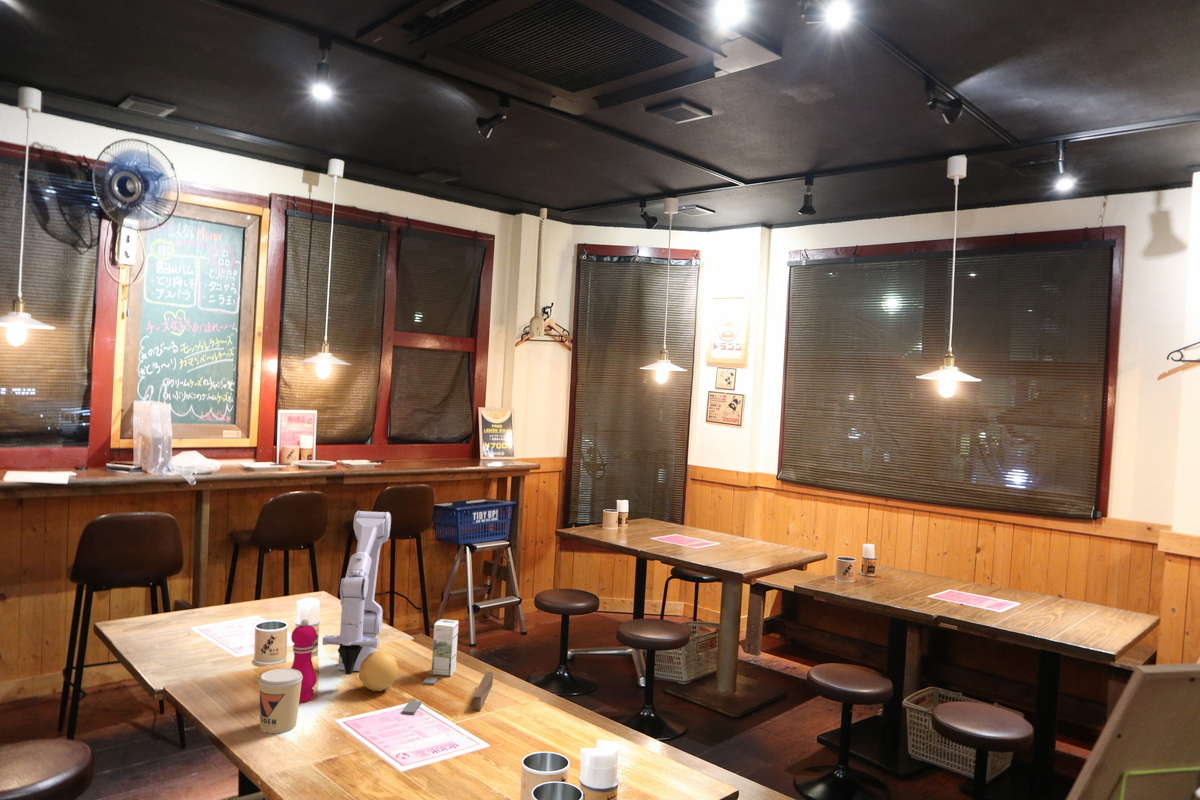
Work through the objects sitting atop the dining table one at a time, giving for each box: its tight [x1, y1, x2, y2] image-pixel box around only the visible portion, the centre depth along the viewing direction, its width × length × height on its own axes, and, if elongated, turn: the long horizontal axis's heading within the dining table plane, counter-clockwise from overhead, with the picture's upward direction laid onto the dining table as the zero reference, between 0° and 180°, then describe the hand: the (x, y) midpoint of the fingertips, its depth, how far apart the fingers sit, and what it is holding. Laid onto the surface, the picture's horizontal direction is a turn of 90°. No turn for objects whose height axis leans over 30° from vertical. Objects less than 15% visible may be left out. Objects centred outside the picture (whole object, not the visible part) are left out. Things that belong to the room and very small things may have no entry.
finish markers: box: [401, 676, 438, 715], centre depth 204 cm, size 3×24×1 cm, turn 178°
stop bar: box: [471, 671, 494, 712], centre depth 205 cm, size 2×18×4 cm, turn 178°
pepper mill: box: [290, 619, 318, 703], centre depth 198 cm, size 7×7×20 cm
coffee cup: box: [258, 668, 303, 734], centre depth 181 cm, size 9×9×12 cm
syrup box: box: [431, 618, 460, 677], centre depth 222 cm, size 6×6×14 cm
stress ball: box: [358, 650, 399, 692], centre depth 206 cm, size 10×10×10 cm
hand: (349, 673), depth 206 cm, fingers closed
